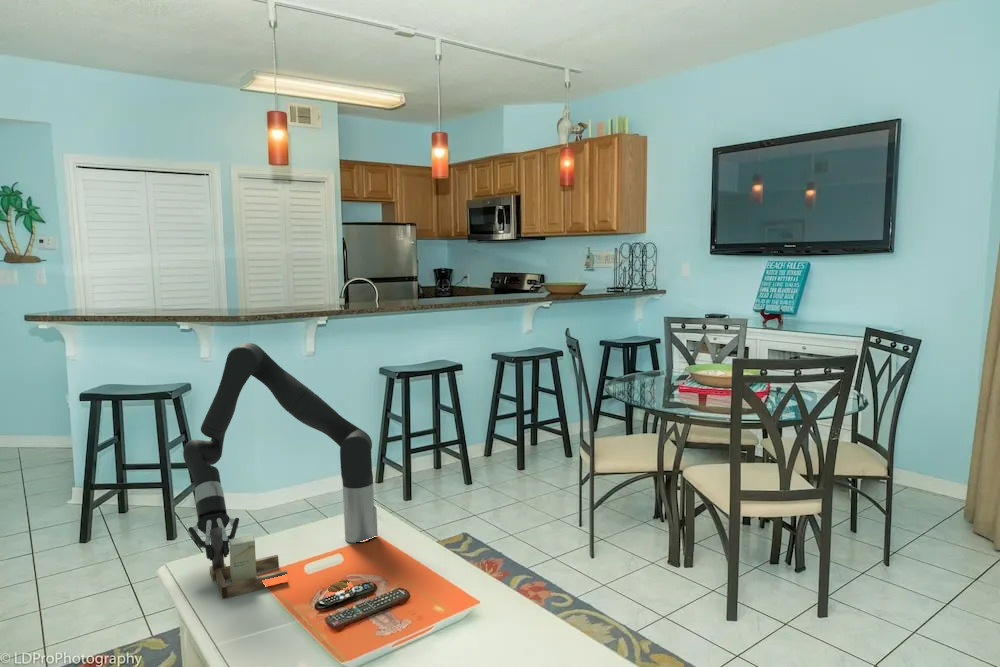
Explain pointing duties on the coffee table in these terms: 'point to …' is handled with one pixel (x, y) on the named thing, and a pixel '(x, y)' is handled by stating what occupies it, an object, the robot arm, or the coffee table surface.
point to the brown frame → (223, 572)
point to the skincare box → (242, 558)
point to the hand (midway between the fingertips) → (218, 557)
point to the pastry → (338, 585)
